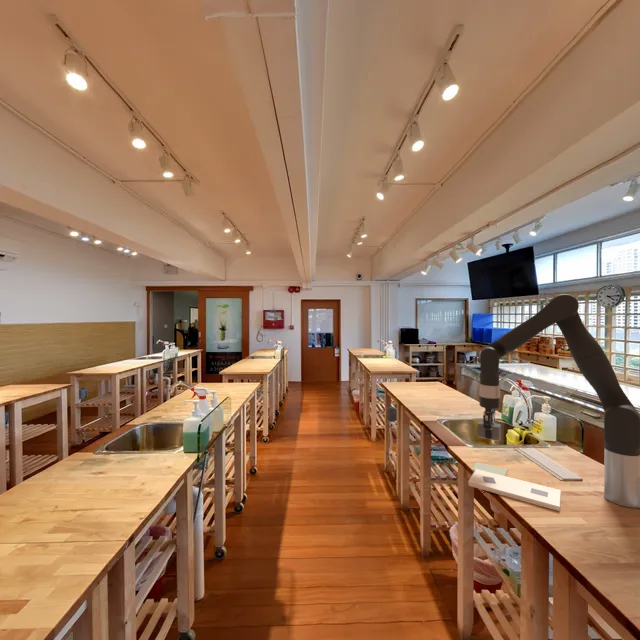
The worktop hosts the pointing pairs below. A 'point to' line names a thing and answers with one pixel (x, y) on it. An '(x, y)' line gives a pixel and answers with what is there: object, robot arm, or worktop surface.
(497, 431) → the block
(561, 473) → the baseboard
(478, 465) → the rest mat
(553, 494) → the board
